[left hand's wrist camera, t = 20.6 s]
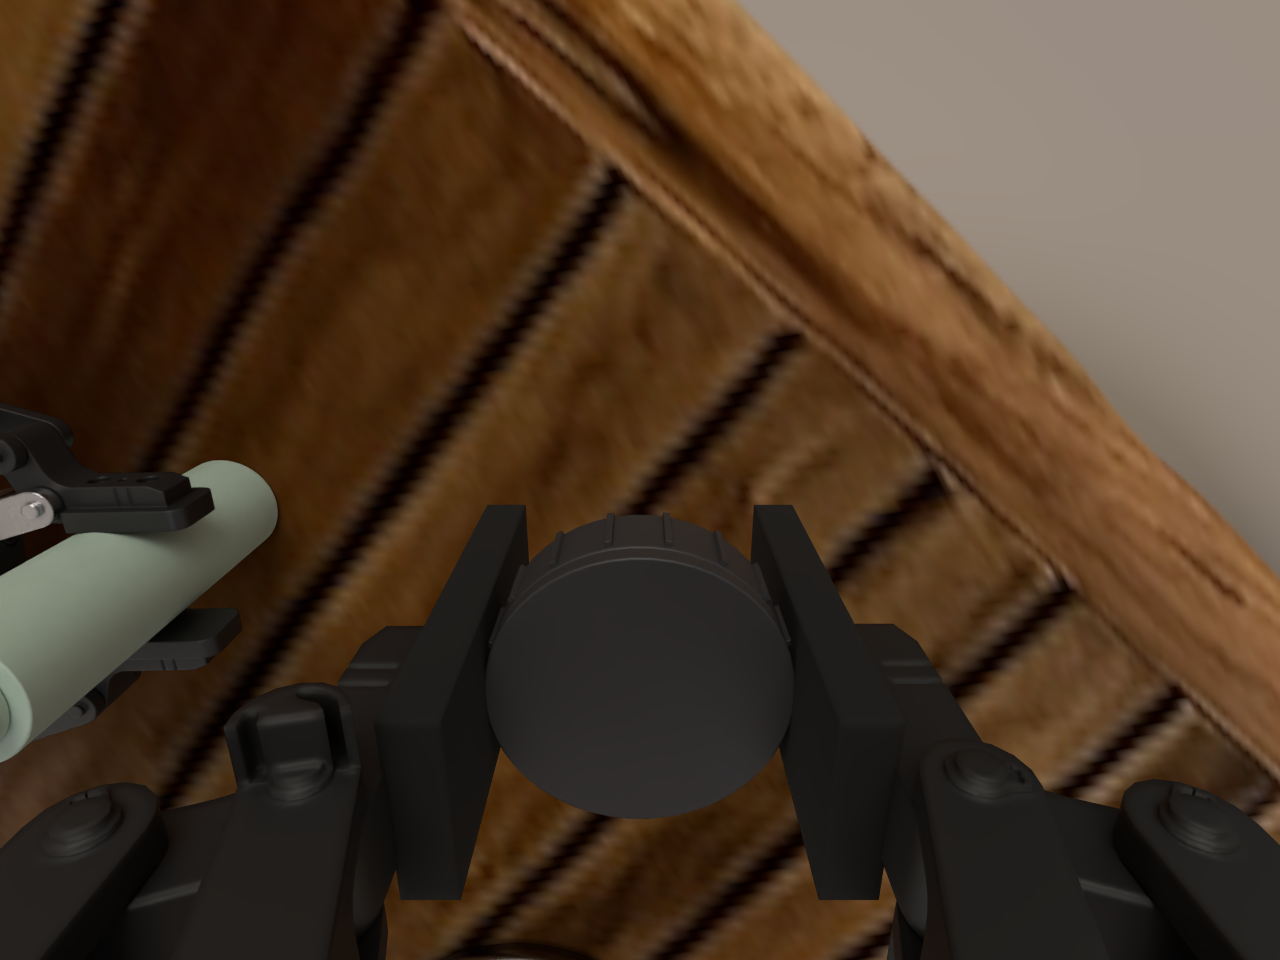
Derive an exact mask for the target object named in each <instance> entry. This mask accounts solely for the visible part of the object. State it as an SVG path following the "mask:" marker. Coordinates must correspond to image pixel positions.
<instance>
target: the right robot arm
mask: <svg viewBox="0 0 1280 960" xmlns="http://www.w3.org/2000/svg"><path fill="white" fill-rule="evenodd" d="M73 441H74V436H73V432H72V430H71V428H70V427H69V426H68V425H67V424H66V423H65V422H64V421H62V420H61V419H59V418H56V417H52V416H49V415H45V414H41V413H38V412H34V411H31V410H27V409H23V408H20V407H16V406H12V405H9V404H5V403H2V402H0V475H4V476H5V478H6V479H7V480H8V482H9V483H10V485H11V486H12V487H10V488H7V489H3V490H0V576H1V575H3V574H5V573H7V572H8V571H10V570H12V569H14V568H16V567H17V566H19V565H21V564H23V563H25V557H24V540H23V537H22V534H23V533H26V532H30V531H33V530H36V529H40V528H43V527H46V526H48V525H50V524H53V523H63V525H64V528H65V532H66V533H115V532H169V531H177V530H181V529H185V528H187V527H190V526H192V525H193V524H195V523H196V522H198V521H199V520H200V519H202V518H203V517H205V516H206V515H208V514H209V513H211V512H212V511H214V510H215V506H214V502H213V497H212V493H211V489H210V488H207V487H191V484H190V480H189V477H186V476H183V475H180V474H177V473H174V472H156V473H154V472H144V473H98V472H97V471H95V470H93V469H91V468H86V467H84V466H82V465H81V464H80V463H79V462H78V461H77V459H76V458H75V457H74V455H73V454H72V452H71V451H70V449H69V448H70V447H71V446H72V444H73ZM241 630H242V625H241V621H240V616H239V612H238V610H237V609H234V608H213V609H185V610H183V611H182V612H181V613H180V614H179V615H178V616H176V617H175V618H174V619H173V620H172V621H171V622H169V623H168V624H167V625H166V626H165V627H164V628H162V629H161V630H160V631H159V632H158V633H157V634H156V635H154V636H153V637H152V638H151V639H150V640H149V641H147V642H146V643H145V644H144V645H143V646H142V647H140V648H139V649H138V650H137V651H136V652H135V653H133V654H132V655H131V656H130V657H129V658H128V659H126V660H125V661H124V662H123V663H122V664H121V665H119V666H118V667H117V668H116V669H115V670H114V671H113V672H111V673H110V674H109V675H108V676H107V677H106V678H104V679H103V680H102V681H101V682H100V683H99V684H97V685H96V686H95V687H94V688H93V689H92V690H90V691H89V692H88V693H87V694H86V695H85V696H83V697H82V698H81V699H80V700H79V701H78V702H76V703H75V704H74V705H73V706H72V707H71V708H69V709H68V710H67V711H66V712H65V713H64V714H63V715H61V716H60V717H59V718H58V719H57V720H56V721H54V722H53V723H52V724H51V725H50V726H49V727H47V728H46V729H45V730H44V731H43V732H42V733H40V734H39V735H38V736H37V737H36V738H35V739H33V740H32V741H34V740H37V739H40V738H43V737H46V736H49V735H52V734H56V733H59V732H62V731H65V730H68V729H71V728H75V727H78V726H81V725H84V724H87V723H90V722H92V721H93V720H94V719H95V718H96V717H97V716H98V715H99V714H101V713H102V712H103V711H104V710H105V709H106V708H107V707H108V706H109V705H110V704H111V703H113V702H114V701H115V700H116V699H117V698H118V697H119V696H120V695H121V694H122V693H123V692H124V691H126V690H127V689H128V688H129V687H130V686H131V685H132V684H133V683H134V682H135V681H136V680H138V678H139V677H140V675H141V671H157V670H176V669H178V670H194V669H197V668H200V667H202V666H205V665H207V664H208V663H209V662H210V661H211V660H212V659H213V658H214V657H215V656H216V655H217V654H218V653H220V652H221V651H222V650H223V649H224V648H225V647H226V646H227V645H228V644H229V643H230V642H231V641H232V640H233V639H234V638H235V637H236V636H237V635H238V634H239V633H240V632H241Z"/></svg>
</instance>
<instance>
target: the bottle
mask: <svg viewBox="0 0 1280 960" xmlns="http://www.w3.org/2000/svg"><path fill="white" fill-rule="evenodd" d="M182 475H183V476H186V477H189V480H190V484H191V487H207V488H210V489H211V493H212V497H213V502H214V506H215V510H214V511H212V512H211V513H209V514H208V515H206V516H205V517H203V518H202V519H200V520H199V521H198V522H196V523H195V524H193V525H192V526H190V527H187V528H185V529H181V530H177V531H169V532H115V533H77V534H75V535H73V536H71V537H69V538H68V539H66V540H64V541H62V542H60V543H59V544H57V545H55V546H53V547H51V548H50V549H48V550H46V551H44V552H43V553H41V554H39V555H37V556H35V557H34V558H32V559H30V560H28V561H26V562H25V563H23V564H21V565H19V566H17V567H16V568H14V569H12V570H10V571H8V572H7V573H5V574H3V575H1V576H0V762H3V761H5V760H7V759H9V758H11V757H13V756H14V755H16V754H17V753H18V752H20V751H21V750H22V749H23V748H24V747H25V746H26V745H28V744H29V743H30V742H31V741H32V740H33V739H35V738H36V737H37V736H38V735H39V734H40V733H42V732H43V731H44V730H45V729H46V728H47V727H49V726H50V725H51V724H52V723H53V722H54V721H56V720H57V719H58V718H59V717H60V716H61V715H63V714H64V713H65V712H66V711H67V710H68V709H69V708H71V707H72V706H73V705H74V704H75V703H76V702H78V701H79V700H80V699H81V698H82V697H83V696H85V695H86V694H87V693H88V692H89V691H90V690H92V689H93V688H94V687H95V686H96V685H97V684H99V683H100V682H101V681H102V680H103V679H104V678H106V677H107V676H108V675H109V674H110V673H111V672H113V671H114V670H115V669H116V668H117V667H118V666H119V665H121V664H122V663H123V662H124V661H125V660H126V659H128V658H129V657H130V656H131V655H132V654H133V653H135V652H136V651H137V650H138V649H139V648H140V647H142V646H143V645H144V644H145V643H146V642H147V641H149V640H150V639H151V638H152V637H153V636H154V635H156V634H157V633H158V632H159V631H160V630H161V629H162V628H164V627H165V626H166V625H167V624H168V623H169V622H171V621H172V620H173V619H174V618H175V617H176V616H178V615H179V614H180V613H181V612H182V611H183V610H185V609H186V608H187V607H188V606H189V605H190V604H192V603H193V602H194V601H195V600H196V599H197V598H199V597H200V596H201V595H202V594H203V593H204V592H206V591H207V590H208V589H209V588H210V587H211V586H212V585H214V584H215V583H216V582H217V581H218V580H219V579H221V578H222V577H223V576H224V575H225V574H226V573H228V572H229V571H230V570H231V569H232V568H233V567H235V566H236V565H237V564H238V563H239V562H240V561H242V560H243V559H244V558H245V557H246V556H247V555H249V554H250V553H251V552H252V551H253V550H254V549H255V548H257V547H258V546H259V545H260V544H261V543H262V542H264V541H265V540H266V539H267V538H268V537H269V536H270V535H271V533H272V532H273V530H274V528H275V526H276V523H277V518H278V508H277V503H276V499H275V496H274V494H273V492H272V490H271V488H270V487H269V485H268V484H267V483H266V482H265V481H264V479H263V478H262V477H261V476H259V475H258V474H257V473H256V472H254V471H253V470H251V469H250V468H248V467H246V466H244V465H241V464H239V463H235V462H231V461H224V460H216V461H209V462H206V463H203V464H201V465H199V466H197V467H195V468H193V469H191V470H189V471H188V472H186V473H184V474H182Z"/></svg>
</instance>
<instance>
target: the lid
mask: <svg viewBox="0 0 1280 960" xmlns="http://www.w3.org/2000/svg"><path fill="white" fill-rule="evenodd" d="M790 645H791V639H790V636H789V633H788V630H787V627H786V625H785V622H784V619H783V616H782V613H781V611H780V608H779V605H776V606H774V604H773V601H772V599H771V596H770V593H769V591H768V588H767V586H766V583H765V580H764V577H763V575H762V572H761V569H760V566H759V565H758V564H757V563H754V564H753V565H752V564H751V563H750V561H749V560H748V559H747V558H745V557H744V556H743V555H742V554H741V553H740V552H739V551H738V550H737V549H736V548H735V547H733V546H732V545H731V544H729V543H728V542H727V541H725V540H724V539H723V537H722V533H721V532H719V531H718V530H715V531H714V533H712V532H710V531H708V530H706V529H704V528H701V527H699V526H696V525H694V524H691V523H689V522H685V521H681V520H677V519H673V518H670V513H663V516H662V517H661V516H654V515H627V516H618V517H615V516H614V513H610V514H607V519H603V520H598V521H594V522H592V523H589V524H586V525H583V526H581V527H578V528H576V529H574V530H572V531H570V532H568V533H566V534H564V533H563V532H562V531H560V532H559V533H557V534H556V537H555V541H553V542H552V543H550V544H549V545H548V546H546V547H545V548H544V549H543V550H542V551H541V552H540V553H538V554H537V555H536V556H535V557H534V558H533V559H532V560H531V561H530V563H529V564H528V565H527V566H524V565H523V564H522V565H521V566H520V567H519V569H518V572H517V575H516V578H515V581H514V583H513V586H512V589H511V592H510V595H509V598H508V600H507V603H506V606H505V608H503V607H501V609H500V612H499V615H498V618H497V620H496V623H495V626H494V629H493V632H492V635H491V637H490V640H489V648H490V652H489V656H488V660H487V664H486V669H485V689H486V701H487V711H488V718H489V722H490V724H491V727H492V730H493V732H494V735H495V737H496V739H497V741H498V742H499V744H500V746H501V748H502V749H503V751H504V753H505V754H506V755H507V757H508V758H509V759H510V760H511V762H512V763H513V764H514V766H515V767H516V768H517V769H518V770H519V771H520V772H521V773H522V774H523V775H524V776H525V777H526V778H527V779H529V780H530V781H531V782H532V783H534V784H535V785H536V786H538V787H539V788H540V789H542V790H543V791H545V792H546V793H548V794H550V795H551V796H553V797H555V798H556V799H558V800H561V801H563V802H565V803H567V804H569V805H572V806H574V807H577V808H580V809H583V810H586V811H589V812H592V813H596V814H601V815H606V816H610V817H620V818H629V819H650V818H661V817H669V816H674V815H679V814H684V813H687V812H691V811H694V810H697V809H700V808H703V807H706V806H708V805H710V804H713V803H715V802H717V801H719V800H721V799H723V798H725V797H727V796H728V795H730V794H732V793H733V792H735V791H737V790H738V789H739V788H741V787H742V786H743V785H745V784H746V783H747V782H749V781H750V780H751V779H752V778H753V777H754V776H755V775H756V774H757V773H759V772H760V771H761V770H762V769H763V768H764V766H765V765H766V764H767V763H768V761H769V760H770V759H771V758H772V757H773V755H774V754H775V752H776V750H777V749H778V747H779V746H780V744H781V742H782V741H783V738H784V736H785V734H786V731H787V729H788V727H789V724H790V721H791V717H792V707H793V696H794V683H795V670H794V666H793V661H792V656H791V653H790V650H789V646H790Z"/></svg>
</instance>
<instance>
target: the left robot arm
mask: <svg viewBox="0 0 1280 960" xmlns="http://www.w3.org/2000/svg"><path fill="white" fill-rule="evenodd" d="M754 563H757V564H758V565H759V566H760V569H761V572H762V575H763V577H764V580H765V583H766V586H767V588H768V591H769V593H770V596H771V599H772V601H773V604H774V606H776V605H779V608H780V611H781V613H782V616H783V619H784V622H785V625H786V627H787V630H788V633H789V636H790V639H791V645H790V646H789V650H790V653H791V656H792V661H793V666H794V670H795V683H794V696H793V707H792V717H791V721H790V724H789V727H788V729H787V731H786V734H785V736H784V738H783V741H782V742H781V744H780V746H779V749H780V753H781V756H782V760H783V764H784V768H785V772H786V776H787V779H788V783H789V787H790V791H791V795H792V799H793V802H794V806H795V810H796V814H797V818H798V822H799V825H800V829H801V833H802V837H803V841H804V845H805V848H806V852H807V856H808V860H809V864H810V868H811V871H812V875H813V879H814V883H815V887H816V891H817V894H818V898H819V900H879V895H880V888H881V882H882V875H883V869H884V868H885V870H886V873H887V876H888V878H889V881H890V884H891V886H892V889H893V892H894V894H895V897H896V900H897V901H896V907H895V913H894V919H893V925H892V931H891V937H890V943H889V949H888V955H887V960H1280V845H1279V844H1278V843H1277V842H1276V841H1275V840H1274V839H1273V838H1272V837H1271V836H1270V835H1269V834H1268V833H1267V832H1266V831H1265V830H1264V829H1263V828H1262V827H1261V826H1260V825H1259V824H1257V823H1256V822H1255V821H1253V820H1252V819H1251V818H1250V817H1248V816H1247V815H1246V814H1244V813H1243V812H1242V811H1241V810H1239V809H1238V808H1237V807H1236V806H1234V805H1232V804H1230V803H1228V802H1226V801H1224V800H1222V799H1221V798H1219V797H1217V796H1215V795H1213V794H1211V793H1209V792H1207V791H1204V790H1201V789H1198V788H1196V787H1192V786H1189V785H1186V784H1183V783H1180V782H1173V781H1165V780H1157V779H1152V780H1147V781H1141V782H1135V783H1134V784H1133V785H1132V786H1131V787H1130V788H1128V789H1127V790H1126V791H1125V792H1124V795H1123V798H1122V802H1121V805H1120V809H1118V808H1113V807H1109V806H1104V805H1100V804H1096V803H1091V802H1087V801H1083V800H1078V799H1074V798H1070V797H1065V796H1062V795H1059V794H1055V793H1052V792H1049V791H1046V790H1044V789H1043V786H1042V785H1041V783H1040V782H1039V780H1038V779H1037V777H1036V776H1035V774H1034V773H1033V771H1032V770H1031V769H1030V768H1029V767H1027V766H1026V765H1025V764H1024V763H1023V762H1021V761H1020V760H1019V759H1018V758H1016V757H1015V756H1014V755H1012V754H1010V753H1008V752H1006V751H1004V750H1002V749H1000V748H998V747H996V746H994V745H992V744H988V743H984V742H982V740H981V739H980V737H979V736H978V734H977V733H976V731H975V730H974V728H973V726H972V725H971V723H970V722H969V720H968V719H967V717H966V716H965V714H964V713H963V711H962V710H961V708H960V706H959V705H958V703H957V702H956V700H955V699H954V697H953V696H952V694H951V693H950V691H949V689H948V688H947V686H946V685H945V684H942V679H941V677H940V676H939V674H938V673H937V671H936V669H935V668H934V666H931V662H930V660H929V659H928V657H927V656H926V654H925V653H924V651H923V649H922V648H921V646H920V645H919V643H918V642H917V641H916V640H915V639H913V638H912V637H910V636H909V635H908V634H906V633H905V632H904V631H902V630H901V629H899V628H898V627H897V626H895V625H894V624H854V622H853V620H852V619H851V617H850V615H849V613H848V611H847V609H846V607H845V605H844V603H843V601H842V599H841V598H840V596H839V594H838V592H837V590H836V588H835V586H834V584H833V582H832V580H831V578H830V576H829V575H828V573H827V571H826V569H825V567H824V565H823V563H822V561H821V559H820V557H819V555H818V554H817V552H816V550H815V548H814V546H813V544H812V542H811V540H810V538H809V536H808V534H807V533H806V531H805V529H804V527H803V525H802V523H801V521H800V519H799V517H798V515H797V513H796V511H795V510H794V508H793V506H792V505H754V514H753V531H752V548H751V564H752V565H753V564H754ZM522 564H523V565H524V566H527V565H528V564H529V555H528V538H527V521H526V505H487V507H486V509H485V511H484V513H483V514H482V516H481V518H480V520H479V522H478V524H477V526H476V528H475V530H474V532H473V534H472V535H471V537H470V539H469V541H468V543H467V545H466V547H465V549H464V551H463V553H462V555H461V556H460V558H459V560H458V562H457V564H456V566H455V568H454V570H453V572H452V574H451V576H450V578H449V579H448V581H447V583H446V585H445V587H444V589H443V591H442V593H441V595H440V597H439V599H438V600H437V602H436V604H435V606H434V608H433V610H432V612H431V614H430V616H429V618H428V620H427V621H426V623H425V625H424V626H386V627H385V628H383V629H382V630H381V631H379V632H378V633H377V634H375V635H374V636H373V637H371V638H370V639H369V640H367V641H366V642H364V643H363V644H362V645H361V647H360V649H359V650H358V652H357V653H356V655H355V656H354V658H353V659H352V661H351V662H350V664H349V669H346V670H345V672H344V673H343V675H342V676H341V678H340V680H339V681H338V686H333V685H329V684H325V683H298V684H294V685H290V686H285V687H281V688H277V689H274V690H272V691H270V692H267V693H265V694H263V695H261V696H258V697H256V698H254V699H252V700H251V701H249V702H248V703H247V704H245V705H244V706H242V707H241V708H240V709H238V710H237V711H236V712H234V714H233V715H232V716H231V718H230V719H229V720H228V722H227V723H226V724H225V726H224V727H223V729H224V733H225V737H226V741H227V745H228V749H229V753H230V757H231V762H232V766H233V770H234V774H235V778H236V782H237V786H238V788H237V790H236V793H234V794H231V795H228V796H225V797H221V798H218V799H215V800H210V801H206V802H202V803H197V804H193V805H189V806H184V807H180V808H176V809H171V810H167V811H163V812H161V811H160V807H159V804H158V800H157V797H156V795H155V794H154V793H153V792H152V791H151V790H150V789H148V788H147V787H146V786H144V785H139V784H133V783H127V782H125V783H116V784H108V785H101V786H98V787H95V788H92V789H89V790H86V791H83V792H80V793H77V794H74V795H72V796H70V797H68V798H66V799H64V800H62V801H60V802H58V803H57V804H55V805H53V806H51V807H49V808H47V809H45V810H44V811H43V812H42V813H40V814H39V815H38V816H36V817H35V818H34V819H33V820H31V821H30V822H29V823H28V824H26V825H25V826H24V827H22V828H21V829H20V830H19V831H18V832H17V833H16V834H15V835H14V836H13V837H12V838H11V839H10V840H9V841H8V842H7V843H6V844H5V845H4V846H3V847H2V848H1V849H0V960H385V957H386V947H387V937H388V927H387V920H386V913H385V907H384V900H385V897H386V894H387V891H388V889H389V886H390V883H391V881H392V878H393V875H394V873H395V870H396V872H397V878H398V885H399V891H400V898H401V900H461V897H462V893H463V889H464V885H465V881H466V877H467V874H468V870H469V866H470V862H471V858H472V854H473V851H474V847H475V843H476V839H477V835H478V831H479V828H480V824H481V820H482V816H483V812H484V808H485V805H486V801H487V797H488V793H489V789H490V785H491V782H492V778H493V774H494V770H495V766H496V762H497V759H498V755H499V751H500V747H501V746H500V744H499V742H498V741H497V739H496V737H495V735H494V732H493V730H492V727H491V724H490V722H489V718H488V711H487V701H486V689H485V669H486V664H487V660H488V656H489V652H490V648H489V640H490V637H491V635H492V632H493V629H494V626H495V623H496V620H497V618H498V615H499V612H500V609H501V607H503V608H505V606H506V603H507V600H508V598H509V595H510V592H511V589H512V586H513V583H514V581H515V578H516V575H517V572H518V569H519V567H520V566H521V565H522ZM441 960H591V959H589V958H587V957H584V956H581V955H579V954H576V953H573V952H570V951H566V950H562V949H558V948H553V947H548V946H541V945H533V944H498V945H488V946H482V947H477V948H473V949H468V950H464V951H461V952H458V953H455V954H452V955H450V956H448V957H445V958H443V959H441Z"/></svg>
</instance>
